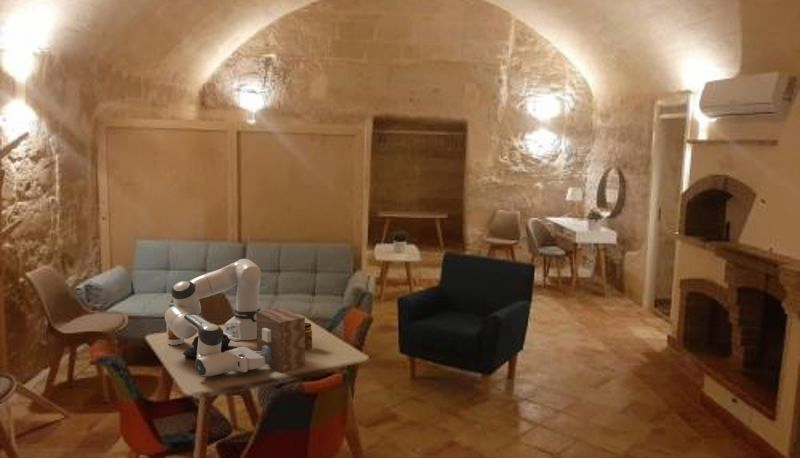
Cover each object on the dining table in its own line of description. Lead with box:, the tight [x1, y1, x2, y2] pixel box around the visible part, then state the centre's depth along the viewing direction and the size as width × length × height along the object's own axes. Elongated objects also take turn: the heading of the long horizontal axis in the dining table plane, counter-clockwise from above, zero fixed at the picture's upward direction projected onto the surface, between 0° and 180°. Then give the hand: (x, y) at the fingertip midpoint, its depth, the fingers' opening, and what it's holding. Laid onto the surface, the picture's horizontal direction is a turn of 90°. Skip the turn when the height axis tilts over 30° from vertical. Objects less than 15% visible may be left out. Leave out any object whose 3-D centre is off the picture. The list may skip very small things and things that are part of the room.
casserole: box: [182, 334, 238, 358], centre depth 288 cm, size 25×19×8 cm
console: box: [256, 307, 306, 373], centre depth 278 cm, size 12×22×22 cm, turn 39°
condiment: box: [305, 322, 316, 352], centre depth 298 cm, size 7×8×12 cm
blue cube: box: [262, 345, 272, 360], centre depth 275 cm, size 5×5×5 cm
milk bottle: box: [166, 302, 185, 346], centre depth 304 cm, size 8×8×20 cm
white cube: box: [262, 328, 271, 342], centre depth 274 cm, size 5×5×5 cm
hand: (264, 353), depth 274 cm, fingers closed, pressing on blue cube
